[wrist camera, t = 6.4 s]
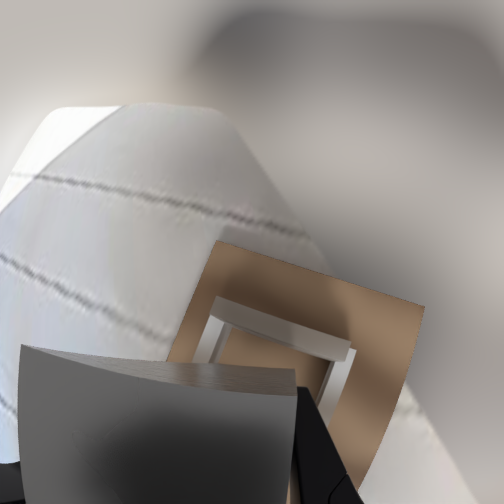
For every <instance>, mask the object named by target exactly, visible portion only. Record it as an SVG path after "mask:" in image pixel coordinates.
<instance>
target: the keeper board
mask: <svg viewBox="0 0 504 504" xmlns="http://www.w3.org/2000/svg"><path fill="white" fill-rule="evenodd" d="M424 308H425V307H424V306H421V305H418V304H414V303H411V302H408V301H405V300H402V299H399V298H396V297H393V296H390V295H386V294H383V293H380V292H377V291H374V290H371V289H368V288H365V287H361V286H358V285H355V284H352V283H349V282H345V281H343V280H340V279H336V278H333V277H330V276H327V275H324V274H321V273H318V272H314V271H311V270H308V269H305V268H302V267H299V266H296V265H293V264H289V263H286V262H283V261H280V260H277V259H274V258H271V257H268V256H264V255H261V254H258V253H255V252H252V251H249V250H246V249H242V248H239V247H236V246H233V245H230V244H227V243H224V242H220V241H217V240H216V243H215V245H214V247H213V250H212V252H211V254H210V257H209V259H208V261H207V264H206V266H205V268H204V271H203V273H202V275H201V278H200V280H199V282H198V285H197V287H196V290H195V292H194V294H193V297H192V299H191V302H190V304H189V306H188V309H187V311H186V314H185V316H184V319H183V321H182V324H181V326H180V328H179V331H178V333H177V336H176V338H175V341H174V343H173V346H172V348H171V351H170V354H169V356H168V359H167V361H166V362H181V363H219V364H229V365H240V366H253V367H268V368H286V369H295V374H296V385H297V386H306V387H308V388H309V390H310V392H311V395H312V397H313V399H314V401H315V403H316V405H317V408H318V410H319V412H320V414H321V416H322V418H323V420H324V423H325V425H326V427H327V429H328V431H329V433H330V436H331V438H332V440H333V442H334V444H335V446H336V448H337V451H338V453H339V455H340V457H341V459H342V461H343V463H344V466H345V468H346V470H347V472H348V473H347V474H349V476H350V478H351V480H352V482H353V484H354V486H355V488H356V490H357V491H358V489H359V487H360V485H361V483H362V481H363V479H364V477H365V475H366V473H367V471H368V469H369V467H370V465H371V463H372V461H373V459H374V457H375V455H376V452H377V450H378V448H379V446H380V443H381V441H382V439H383V436H384V434H385V432H386V429H387V427H388V424H389V422H390V419H391V417H392V414H393V412H394V409H395V406H396V404H397V401H398V398H399V395H400V392H401V389H402V387H403V384H404V381H405V378H406V374H407V371H408V368H409V365H410V361H411V358H412V355H413V351H414V348H415V344H416V340H417V337H418V333H419V329H420V325H421V321H422V317H423V313H424ZM286 504H290V482H289V486H288V494H287V502H286Z"/></svg>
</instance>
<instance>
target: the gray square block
mask: <svg viewBox="0 0 504 504" xmlns="http://www.w3.org/2000/svg"><path fill="white" fill-rule="evenodd" d="M296 408H297V385H296V374H295V369H286V368H268V367H253V366H240V365H229V364H219V363H181V362H161V361H146V360H133V359H121V358H111V357H102V356H93V355H85V354H77V353H70V352H63V351H57V350H51V349H45V348H39V347H33V346H28V345H23V344H21V351H20V362H19V377H18V440H19V454H20V465H21V474H22V482H23V489H24V495H25V501H26V504H286V502H287V494H288V486H289V478H290V469H291V460H292V451H293V441H294V431H295V420H296Z"/></svg>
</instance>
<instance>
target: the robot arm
mask: <svg viewBox="0 0 504 504" xmlns="http://www.w3.org/2000/svg"><path fill="white" fill-rule="evenodd" d="M347 473H348V472H347V470H346V468H345V466H344V463H343V461H342V459H341V457H340V455H339V453H338V451H337V448H336V446H335V444H334V442H333V440H332V438H331V436H330V433H329V431H328V429H327V427H326V425H325V423H324V420H323V418H322V416H321V414H320V412H319V410H318V408H317V405H316V403H315V401H314V399H313V397H312V395H311V392H310V390H309V388H308V387H306V386H297V408H296V420H295V431H294V441H293V451H292V460H291V469H290V478H289V482H290V504H364V502H363V501H362V499H361V498H360V496H359V494H358V492H357V490H356V488H355V486H354V484H353V482H352V480H351V478H350V476H349V474H347ZM0 504H26V501H25V495H24V489H23V482H22V474H21V465H20V461H18V462H15V463H8V464H1V463H0Z"/></svg>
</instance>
